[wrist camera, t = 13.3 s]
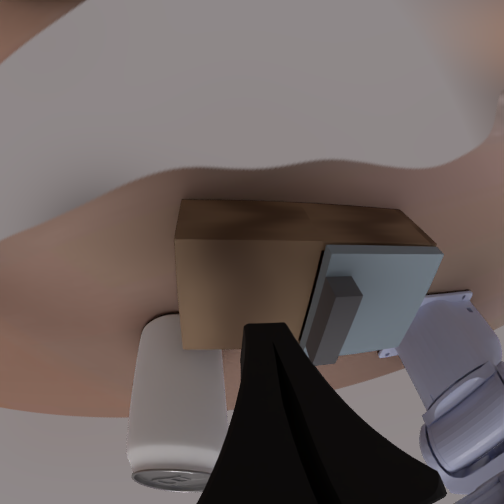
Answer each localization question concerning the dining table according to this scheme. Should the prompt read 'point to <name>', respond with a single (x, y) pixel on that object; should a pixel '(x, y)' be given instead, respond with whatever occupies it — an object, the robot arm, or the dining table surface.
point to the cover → (366, 298)
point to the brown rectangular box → (265, 261)
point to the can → (175, 410)
